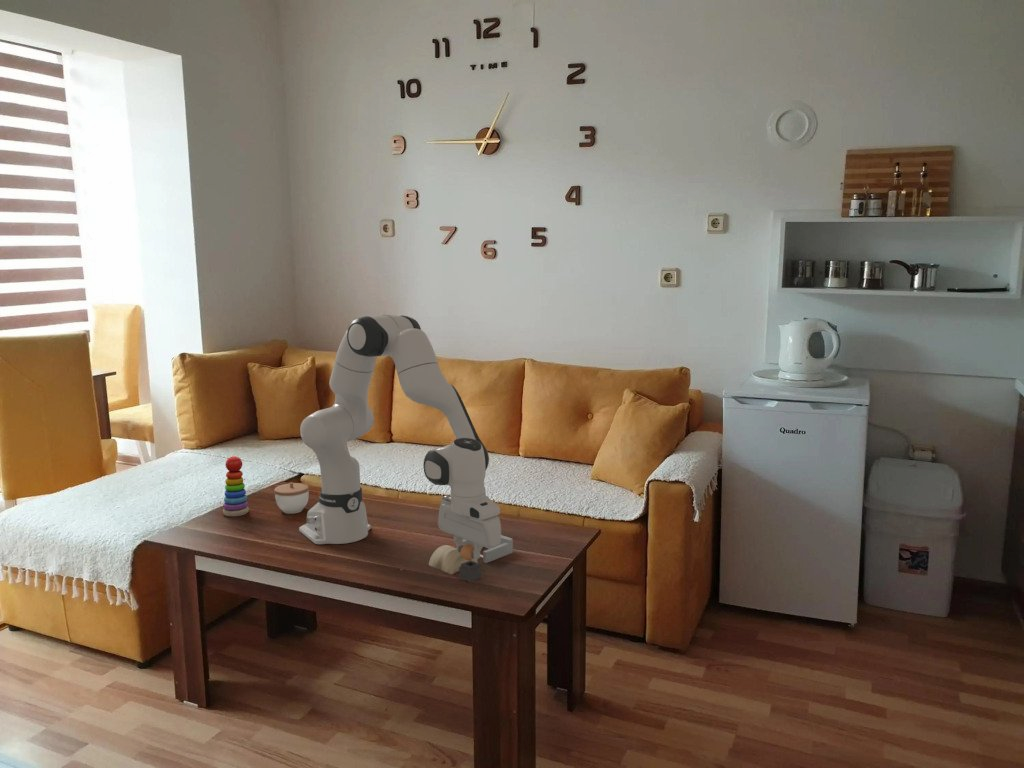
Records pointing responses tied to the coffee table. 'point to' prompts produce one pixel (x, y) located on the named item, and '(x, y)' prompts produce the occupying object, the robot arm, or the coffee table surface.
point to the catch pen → (496, 549)
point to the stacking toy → (235, 489)
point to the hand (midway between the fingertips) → (468, 555)
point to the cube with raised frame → (470, 571)
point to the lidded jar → (292, 497)
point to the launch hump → (447, 559)
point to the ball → (467, 551)
